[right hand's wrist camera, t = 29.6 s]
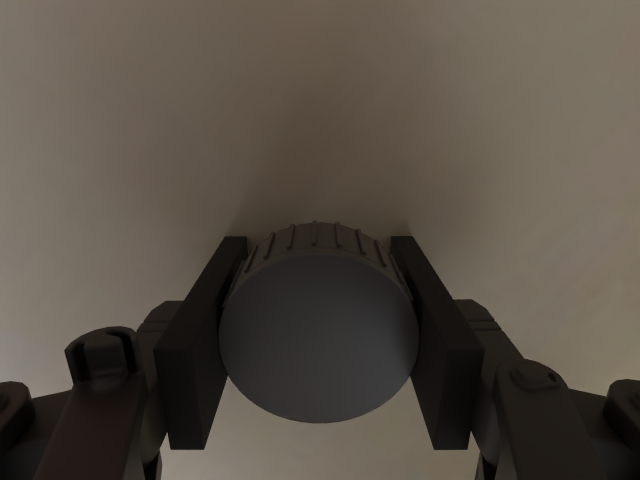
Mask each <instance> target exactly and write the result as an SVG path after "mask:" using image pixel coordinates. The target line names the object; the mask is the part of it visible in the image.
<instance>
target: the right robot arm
mask: <svg viewBox="0 0 640 480" xmlns="http://www.w3.org/2000/svg"><path fill="white" fill-rule="evenodd" d="M390 254H392V256H393V258H394V260H395V263H396V265H397V267H398V270H399V271H401V272H402V274H403V276H404V279H405V281H406V283H407V285H408V288H409V290H410V292H411V294H412V297H413V299H414V302H413V303H412V305H413V307H414V310H415V313H416V315H417V318H418V323H419V328H420V346H419V353H418V357H417V360H416V363H415V366H414V368H413V370H412V373H411V374H410V377H411V380H412V383H413V386H414V389H415V392H416V395H417V398H418V402H419V405H420V408H421V411H422V414H423V417H424V420H425V423H426V426H427V429H428V433H429V436H430V439H431V442H432V445H433V448H434V450H467V449H468V443H469V438H470V432H471V431H472V434H473V436H474V438H475V440H476V443H477V445H478V447H479V449H480V454H479V459H478V464H477V470H476V475H475V480H640V381H638V380H630V379H624V380H617V381H615V382H614V383H612V384H611V385H610V387H609V390H608V393H607V396H601V395H596V394H592V393H587V392H582V391H577V390H573V389H569V388H568V387H567V384H566V383H565V382H564V380H563V379H562V377H561V376H560V375H559V374H557V373H556V372H555V371H553V370H552V369H551V368H549V367H547V366H545V365H543V364H541V363H539V362H536V361H532V360H528V359H524V358H523V356H522V355H521V354H520V352H519V351H518V350H517V349H516V347H515V346H514V345H513V343H512V342H511V341H510V339H509V338H508V337H507V335H506V334H505V333H504V332H503V331H501V328H500V326H499V325H498V324H497V322H494V318H493V317H492V316H491V315H490V313H489V312H488V311H487V309H486V308H484V307H483V306H481V305H480V304H478V303H477V302H475V301H473V300H472V299H466V300H453V299H452V297H451V295H450V294H449V292H448V291H447V289H446V288H445V286H444V284H443V283H442V281H441V280H440V278H439V277H438V275H437V274H436V272H435V270H434V269H433V267H432V266H431V264H430V263H429V261H428V260H427V258H426V256H425V255H424V253H423V252H422V250H421V249H420V247H419V246H418V244H417V242H416V241H415V239H414V238H413V236H391V250H390ZM247 258H248V253H247V238H246V237H224V239H223V241H222V242H221V244H220V245H219V247H218V248H217V250H216V252H215V253H214V255H213V256H212V258H211V259H210V261H209V262H208V264H207V266H206V267H205V269H204V270H203V272H202V273H201V275H200V276H199V278H198V280H197V281H196V283H195V284H194V286H193V287H192V289H191V290H190V292H189V294H188V295H187V297H186V298H185V300H184V301H165V302H164V303H162V304H161V305H159V306H157V307H156V308H154V309H153V310H152V311H151V312H150V313H149V315H148V316H147V317H146V319H145V320H144V323H142V324H141V325H140V327H139V328H138V329H137V332H135V331H134V330H132V329H131V328H127V327H122V326H116V327H106V328H101V329H97V330H94V331H91V332H89V333H86V334H84V335H82V336H80V337H79V338H77V339H75V340H74V341H72V342H71V343H70V344H69V345H68V347H67V348H66V349H65V350H64V351H65V355H66V359H67V362H68V366H69V369H70V373H71V377H72V380H73V384H74V385H73V387H72V390H68V391H65V392H60V393H56V394H51V395H46V396H42V397H37V398H31V395H30V392H29V389H28V387H27V386H26V385H24V384H23V383H21V382H13V381H9V382H1V383H0V480H161V472H162V460H161V454H160V447H161V445H162V442H163V440H164V438H165V436H166V433H167V432H168V438H169V443H170V449H171V450H204V448H205V445H206V442H207V439H208V436H209V433H210V430H211V426H212V423H213V420H214V417H215V414H216V411H217V408H218V405H219V402H220V399H221V395H222V392H223V389H224V386H225V383H226V380H227V377H228V374H227V373H226V370H225V368H224V366H223V363H222V360H221V357H220V353H219V347H218V327H219V322H220V318H221V315H222V312H223V310H221V308H222V305H223V303H224V301H225V298H226V296H227V294H228V292H229V289H230V287H231V284H232V282H233V280H234V278H235V276H236V273H237V271H238V269H239V267H240V265H241V262H242V261H243V260H244V261H246V259H247Z"/></svg>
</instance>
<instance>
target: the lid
mask: <svg viewBox="0 0 640 480" xmlns="http://www.w3.org/2000/svg"><path fill="white" fill-rule="evenodd" d="M413 302H414V299H413V297H412V294H411V292H410V290H409V288H408V285H407V283H406V281H405V279H404V276H403V274H402V272H401V271H399V270H398V267H397V265H396V263H395V260H394V258H393V256H392V254H390V255H388V254H387V252H386V251H385V250H384V249H383V248H382V247H381V246H380V244H379V241H378V240H375V241H374V240H372V239H371V238H370V237H368V236H366V235H365V234H363V233H361V230H360V229H358V228H357V230H354V229H352V228H349V227H346V226H342V225H339V223H338V222H335V224H331V223H317V221H313V223H307V224H300V225H297V226H295V225H294V224H292V225H291V226H290V227H289V228H287V229H284V230H282V231H279V232H277V233H276V234H275V233H274V232H273V233H271V234H270V237H269V238H267V239H266V240H265V241H263V242H262V243H261V244H259V245H258V246H257V245H255V246H254V247H253V250H252V252H251V254H250V255H249V257H248V258H247V259H246V261H244V260H243V261H242V262H241V265H240V267H239V269H238V271H237V273H236V276H235V278H234V280H233V282H232V284H231V287H230V289H229V292H228V294H227V296H226V298H225V301H224V303H223V305H222V308H221V310H223V312H222V315H221V318H220V322H219V327H218V347H219V353H220V357H221V360H222V363H223V366H224V368H225V370H226V373H227V374H228V376H229V377H230V379H231V381H232V382H233V383H234V385H235V386H236V387H237V388H238V390H239V391H240V392H241V393H242V394H243V395H245V396H246V397H247V398H248V399H249V400H250V401H252V402H253V403H254V404H256V405H257V406H259V407H261V408H262V409H264V410H266V411H268V412H270V413H272V414H275V415H277V416H280V417H283V418H286V419H289V420H294V421H299V422H306V423H332V422H340V421H345V420H349V419H352V418H356V417H359V416H361V415H364V414H366V413H368V412H371V411H372V410H374V409H376V408H378V407H379V406H381V405H382V404H384V403H385V402H386V401H388V400H389V399H391V398H392V397H393V396H394V395H395V394H396V393H397V392H398V391H399V390H400V388H401V387H402V386H403V385H404V384H405V382H406V381H407V379H408V378H409V376H410V374H411V373H412V370H413V368H414V366H415V363H416V360H417V357H418V353H419V346H420V328H419V323H418V318H417V315H416V313H415V310H414V307H413V305H412V303H413Z"/></svg>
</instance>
